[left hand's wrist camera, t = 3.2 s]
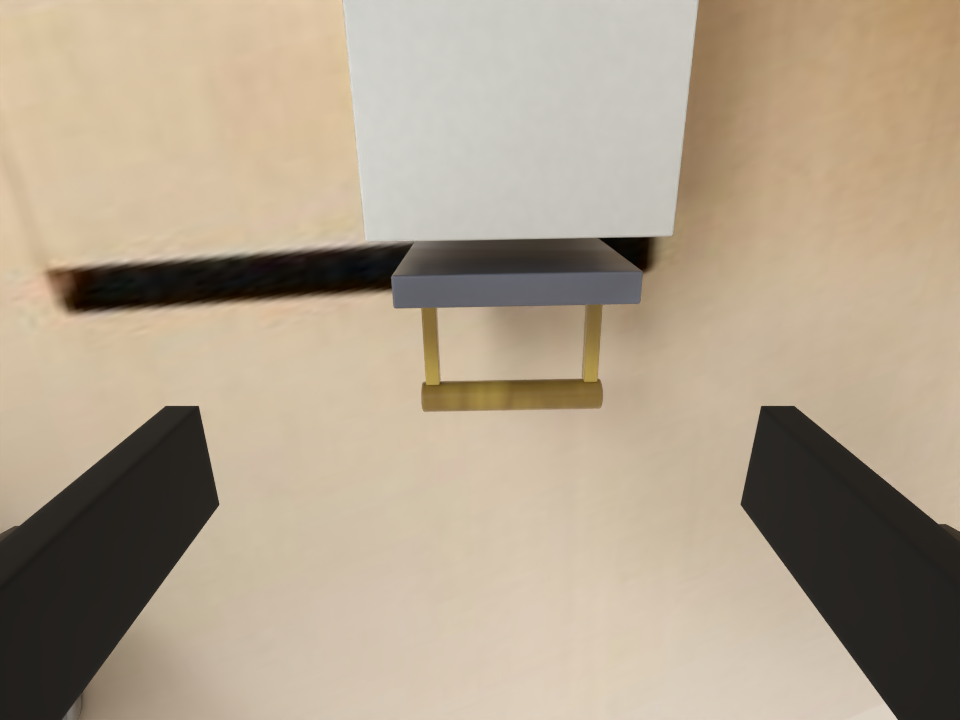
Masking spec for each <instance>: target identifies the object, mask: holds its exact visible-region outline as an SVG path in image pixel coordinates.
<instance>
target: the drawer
mask: <svg viewBox="0 0 960 720" xmlns="http://www.w3.org/2000/svg"><path fill="white" fill-rule="evenodd" d="M642 277H643V272H642V271H641V270H640V269H639V268H637V267H636V266H635V265H633V264H632V263H630V262H629V261H628V260H626V259H625V258H624V257H622V256H621V255H620V254H618V253H617V252H616V251H614V250H613V249H612V248H610V247H609V246H608V245H606V244H605V243H604V242H602V241H601V240H600V239H598V238H563V239H511V240H460V241H415V243H414V244H413V246H412V247H411V249H410V250H409V252H408V253H407V254H406V256H405V257H404V259H403V260H402V262H401V263H400V265H399V266H398V268H397V269H396V271H395V272H394V274H393V275H392V277H391V281H392V294H393V306H394V308H421V309H422V325H423V342H424V359H425V375H426V382H423V384H422V392H421V399H422V409H423V411H424V412H437V411H492V410H547V409H599V408H601V406H602V401H603V390H602V384H601V381H600V379H598V364H599V348H600V333H601V318H602V304H638V303H640V299H641V288H642ZM550 305H586V309H585V327H584V346H583V364H582V378H583V379H543V380H489V381H440V360H439V340H438V320H437V308H444V307H497V306H550Z"/></svg>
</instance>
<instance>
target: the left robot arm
mask: <svg viewBox="0 0 960 720" xmlns="http://www.w3.org/2000/svg"><path fill="white" fill-rule="evenodd" d="M218 506H219V500H218V496H217V491H216V486H215V481H214V477H213V472H212V467H211V462H210V458H209V453H208V448H207V443H206V439H205V434H204V429H203V424H202V420H201V415H200V410H199V406H165V407H164V408H163V409H162V410H160V411H159V412H158V413H157V414H156V415H154V416H153V417H152V418H151V419H149V420H148V421H147V422H146V423H145V424H143V425H142V426H141V427H140V428H138V429H137V430H136V431H135V432H134V433H132V434H131V435H130V436H129V437H127V438H126V439H125V440H124V441H123V442H121V443H120V444H119V445H118V446H117V447H115V448H114V449H113V450H112V451H110V452H109V453H108V454H107V455H106V456H104V457H103V458H102V459H101V460H99V461H98V462H97V463H96V464H95V465H93V466H92V467H91V468H90V469H88V470H87V471H86V472H85V473H84V474H82V475H81V476H80V477H79V478H77V479H76V480H75V481H74V482H73V483H71V484H70V485H69V486H68V487H67V488H65V489H64V490H63V491H62V492H60V493H59V494H58V495H57V496H56V497H54V498H53V499H52V500H51V501H49V502H48V503H47V504H46V505H45V506H43V507H42V508H41V509H40V510H38V511H37V512H36V513H35V514H34V515H32V516H31V517H30V518H29V519H27V520H26V521H25V522H24V523H23V524H21V525H20V526H14V527H12V528H10V529H9V530H7V531H5V532H3V533H1V534H0V720H78V719H79V716H80V712H81V705H82V700H81V693H82V692H83V690H84V689H85V688H86V686H87V685H88V684H89V682H90V681H91V679H92V678H93V677H94V675H95V674H96V673H97V671H98V670H99V668H100V667H101V666H102V664H103V663H104V662H105V660H106V659H107V658H108V656H109V655H110V653H111V652H112V651H113V649H114V648H115V647H116V645H117V644H118V643H119V641H120V640H121V638H122V637H123V636H124V634H125V633H126V632H127V630H128V629H129V627H130V626H131V625H132V623H133V622H134V621H135V619H136V618H137V617H138V615H139V614H140V612H141V611H142V610H143V608H144V607H145V606H146V604H147V603H148V602H149V600H150V599H151V597H152V596H153V595H154V593H155V592H156V591H157V589H158V588H159V586H160V585H161V584H162V582H163V581H164V580H165V578H166V577H167V576H168V574H169V573H170V571H171V570H172V569H173V567H174V566H175V565H176V563H177V562H178V561H179V559H180V558H181V556H182V555H183V554H184V552H185V551H186V550H187V548H188V547H189V545H190V544H191V543H192V541H193V540H194V539H195V537H196V536H197V535H198V533H199V532H200V530H201V529H202V528H203V526H204V525H205V524H206V522H207V521H208V520H209V518H210V517H211V515H212V514H213V513H214V511H215V510H216V509H217V507H218ZM741 506H742V507H743V509H744V510H745V511H746V513H747V514H748V515H749V517H750V518H751V520H752V521H753V522H754V524H755V525H756V526H757V528H758V529H759V530H760V532H761V533H762V535H763V536H764V537H765V539H766V540H767V541H768V543H769V544H770V545H771V547H772V548H773V550H774V551H775V552H776V554H777V555H778V556H779V558H780V559H781V561H782V562H783V563H784V565H785V566H786V567H787V569H788V570H789V571H790V573H791V574H792V576H793V577H794V578H795V580H796V581H797V582H798V584H799V585H800V586H801V588H802V589H803V591H804V592H805V593H806V595H807V596H808V597H809V599H810V600H811V602H812V603H813V604H814V606H815V607H816V608H817V610H818V611H819V612H820V614H821V615H822V617H823V618H824V619H825V621H826V622H827V623H828V625H829V626H830V627H831V629H832V630H833V632H834V633H835V634H836V636H837V637H838V638H839V640H840V641H841V643H842V644H843V645H844V647H845V648H846V649H847V651H848V652H849V653H850V655H851V656H852V658H853V659H854V660H855V662H856V663H857V664H858V666H859V667H860V668H861V670H862V671H863V673H864V674H865V675H866V677H867V678H868V679H869V681H870V682H871V684H872V685H873V686H874V688H875V689H876V690H877V692H878V693H879V694H880V696H881V697H882V699H883V700H884V701H885V703H886V704H887V705H888V707H889V708H890V709H891V711H892V712H893V714H894V715H895V716H896V718H897V719H898V720H960V532H959V531H957V530H956V529H954V528H952V527H950V526H948V525H946V524H937V523H936V522H935V521H934V520H933V519H931V518H930V517H929V516H928V515H926V514H925V513H924V512H923V511H922V510H920V509H919V508H918V507H917V506H915V505H914V504H913V503H912V502H911V501H909V500H908V499H907V498H906V497H904V496H903V495H902V494H901V493H900V492H898V491H897V490H896V489H895V488H893V487H892V486H891V485H890V484H889V483H887V482H886V481H885V480H884V479H883V478H881V477H880V476H879V475H878V474H876V473H875V472H874V471H873V470H872V469H870V468H869V467H868V466H867V465H865V464H864V463H863V462H862V461H861V460H859V459H858V458H857V457H856V456H854V455H853V454H852V453H851V452H850V451H848V450H847V449H846V448H845V447H843V446H842V445H841V444H840V443H839V442H837V441H836V440H835V439H834V438H833V437H831V436H830V435H829V434H828V433H826V432H825V431H824V430H823V429H822V428H820V427H819V426H818V425H817V424H815V423H814V422H813V421H812V420H811V419H809V418H808V417H807V416H806V415H804V414H803V413H802V412H801V411H800V410H798V409H797V408H796V407H795V406H761V410H760V415H759V420H758V424H757V429H756V434H755V439H754V443H753V448H752V453H751V458H750V462H749V467H748V472H747V477H746V481H745V486H744V491H743V496H742V500H741Z"/></svg>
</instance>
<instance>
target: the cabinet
mask: <svg viewBox="0 0 960 720" xmlns="http://www.w3.org/2000/svg"><path fill="white" fill-rule="evenodd" d="M342 1H343V11H344V22H345V32H346V43H347V54H348V64H349V75H350V85H351V96H352V106H353V117H354V127H355V138H356V148H357V159H358V170H359V180H360V191H361V201H362V212H363V222H364V233H365V240H366V242H408V241H460V240H511V239H563V238H614V237H666V236H672V235H673V232H674V223H675V214H676V204H677V195H678V186H679V177H680V168H681V159H682V150H683V141H684V131H685V122H686V113H687V104H688V95H689V86H690V77H691V67H692V58H693V49H694V40H695V31H696V22H697V13H698V4H699V0H342Z"/></svg>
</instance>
